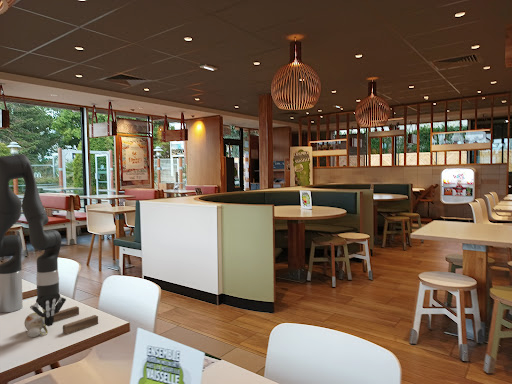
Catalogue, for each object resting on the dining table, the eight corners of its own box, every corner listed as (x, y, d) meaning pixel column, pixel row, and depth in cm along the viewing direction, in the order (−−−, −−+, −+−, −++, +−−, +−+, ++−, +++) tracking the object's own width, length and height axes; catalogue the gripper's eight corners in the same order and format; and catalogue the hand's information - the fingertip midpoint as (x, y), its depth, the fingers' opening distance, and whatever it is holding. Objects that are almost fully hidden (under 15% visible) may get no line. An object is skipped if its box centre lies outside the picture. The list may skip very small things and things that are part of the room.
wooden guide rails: (44, 322, 151) (44, 315, 150) (76, 312, 161) (76, 306, 161) (66, 334, 140) (65, 327, 140) (98, 323, 150) (98, 316, 150)
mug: (22, 342, 134) (17, 315, 137) (30, 342, 143) (26, 317, 145) (45, 334, 137) (40, 307, 139) (51, 335, 145) (46, 310, 148)
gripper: (60, 276, 150) (61, 317, 151) (24, 284, 139) (26, 328, 140) (69, 279, 145) (71, 322, 146) (33, 288, 135) (35, 334, 136)
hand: (49, 325), depth 143 cm, fingers closed
